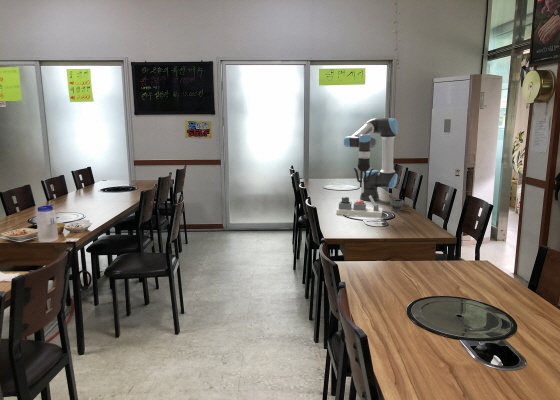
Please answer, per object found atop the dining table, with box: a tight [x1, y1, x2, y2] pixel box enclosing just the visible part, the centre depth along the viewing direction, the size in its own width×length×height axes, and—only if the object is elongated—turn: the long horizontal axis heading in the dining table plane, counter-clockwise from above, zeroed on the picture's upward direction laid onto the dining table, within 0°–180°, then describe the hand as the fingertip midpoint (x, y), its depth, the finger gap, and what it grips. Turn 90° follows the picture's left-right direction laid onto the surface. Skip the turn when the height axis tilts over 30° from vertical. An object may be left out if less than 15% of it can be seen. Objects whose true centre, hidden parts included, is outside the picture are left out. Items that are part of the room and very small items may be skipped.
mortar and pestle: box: [387, 192, 405, 212], centre depth 323 cm, size 11×9×12 cm
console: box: [335, 200, 383, 218], centre depth 311 cm, size 16×30×7 cm, turn 76°
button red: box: [355, 199, 365, 204], centre depth 311 cm, size 5×5×5 cm
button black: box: [341, 196, 350, 204], centre depth 313 cm, size 5×5×5 cm
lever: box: [369, 196, 377, 207], centre depth 308 cm, size 4×1×10 cm, turn 166°
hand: (362, 192), depth 309 cm, fingers closed
